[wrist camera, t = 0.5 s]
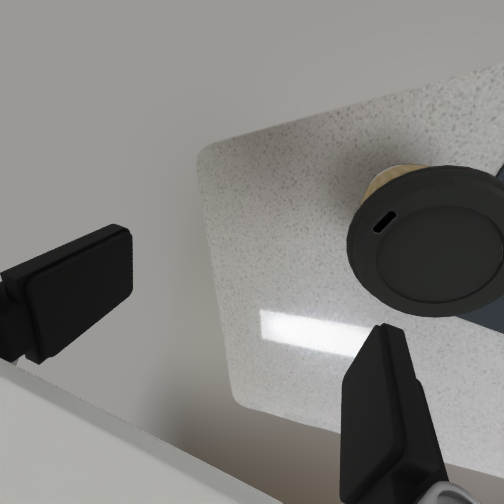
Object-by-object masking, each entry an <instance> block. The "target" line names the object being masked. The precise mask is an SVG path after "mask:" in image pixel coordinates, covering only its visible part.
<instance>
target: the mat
mask: <svg viewBox="0 0 504 504" xmlns="http://www.w3.org/2000/svg"><path fill="white" fill-rule="evenodd" d="M496 178H498V179H500V180H502V181H503V182H504V166H503V167H502V169H501V170H500V171H499V173H498V174H497V176H496ZM456 316H457V317H459V318H462V319H465V320H468V321H470V322H473V323H476V324H479V325H481V326H484V327H487V328H489V329H492V330H495V331H498V332H500V333H503V334H504V295H502V296H501V297H500V298H498V299H497V300H496V301H494V302H492V303H490V304H488V305H486V306H484V307H482V308H480V309H477V310H474V311H471V312H469V313H466V314H461V315H456Z"/></svg>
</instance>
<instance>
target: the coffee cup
mask: <svg viewBox="0 0 504 504" xmlns="http://www.w3.org/2000/svg"><path fill="white" fill-rule="evenodd" d="M347 256H348V260H349V264H350V266H351V268H352V270H353V272H354V274H355V276H356V278H357V279H358V280H359V282H360V283H361V284H362V286H363V287H364V288H365V289H366V290H368V291H369V292H370V293H371V294H372V295H373V296H375V297H376V298H378V299H379V300H380V301H381V302H383V303H384V304H386V305H388V306H389V307H391V308H393V309H396V310H398V311H401V312H403V313H406V314H411V315H415V316H421V317H434V318H435V317H450V316H456V315H461V314H466V313H469V312H471V311H474V310H477V309H480V308H482V307H484V306H486V305H488V304H490V303H492V302H494V301H496V300H497V299H498V298H500V297H501V296H502V295H504V182H503V181H502V180H500V179H498V178H496V177H494V176H492V175H491V174H489V173H487V172H484V171H480V170H477V169H473V168H470V167H463V166H451V165H445V166H433V167H432V166H425V165H415V164H408V165H395V166H392V167H389V168H387V169H385V170H383V171H381V172H380V173H379V174H377V175H376V176H375V177H374V178H373V180H372V181H371V183H370V184H369V187H368V188H367V190H366V192H365V194H364V197H363V199H362V202H361V205H360V208H359V209H358V210H357V212H356V213H355V215H354V217H353V219H352V222H351V224H350V226H349V230H348V235H347Z"/></svg>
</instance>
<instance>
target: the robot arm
mask: <svg viewBox="0 0 504 504" xmlns="http://www.w3.org/2000/svg"><path fill="white" fill-rule="evenodd" d="M132 246H133V242H132V235H131V234H130V231H129V230H128V229H127V228H125V227H122V226H119V225H116V224H110V225H108V226H106V227H103V228H101V229H99V230H96V231H94V232H92V233H90V234H87V235H85V236H83V237H81V238H78V239H76V240H74V241H72V242H69V243H67V244H65V245H62V246H60V247H58V248H55V249H54V250H51V251H49V252H46V253H44V254H42V255H39V256H37V257H35V258H33V259H30V260H28V261H26V262H24V263H21V264H19V265H17V266H14V267H12V268H10V269H7V270H5V271H3V272H1V273H0V275H1V278H2V282H0V504H283V503H281V502H280V501H278V500H276V499H274V498H272V497H270V496H268V495H266V494H265V493H263V492H261V491H259V490H257V489H255V488H253V487H251V486H249V485H248V484H246V483H243V482H242V481H240V480H238V479H236V478H234V477H232V476H230V475H228V474H226V473H224V472H222V471H220V470H218V469H217V468H215V467H213V466H211V465H209V464H207V463H205V462H203V461H201V460H199V459H197V458H195V457H194V456H192V455H190V454H188V453H186V452H184V451H182V450H180V449H178V448H176V447H174V446H172V445H170V444H168V443H166V442H164V441H163V440H161V439H159V438H157V437H155V436H153V435H151V434H149V433H147V432H145V431H143V430H141V429H139V428H137V427H135V426H133V425H131V424H129V423H127V422H126V421H124V420H122V419H120V418H118V417H116V416H114V415H112V414H110V413H108V412H106V411H104V410H102V409H100V408H98V407H96V406H94V405H92V404H90V403H88V402H86V401H84V400H82V399H81V398H79V397H76V396H75V395H73V394H71V393H69V392H67V391H65V390H63V389H61V388H59V387H57V386H55V385H53V384H51V383H49V382H47V381H45V380H43V379H41V378H39V377H37V376H35V375H33V374H31V373H29V372H27V371H25V370H23V369H21V368H19V367H17V366H16V364H17V361H18V358H19V357H21V356H22V355H24V354H25V357H26V358H27V359H28V360H31V361H33V362H34V363H37V364H38V365H39V364H41V363H42V362H43V361H45V360H46V359H47V358H48V357H53V356H55V355H56V354H58V353H59V352H60V351H61V350H63V349H64V348H65V347H67V346H68V345H69V344H70V343H71V342H73V341H74V340H75V339H76V338H78V337H79V336H80V335H81V334H83V333H84V332H85V331H86V330H87V329H89V328H90V327H91V326H93V325H94V324H95V323H96V322H98V321H99V320H100V319H101V318H103V317H104V316H105V315H106V314H108V313H109V312H110V311H111V310H113V308H115V307H116V306H118V305H119V304H120V303H121V302H122V301H124V300H125V299H126V298H128V297H129V296H130V294H131V292H132V290H133V253H132V252H133V248H132ZM340 450H341V451H340V500H341V502H343V503H345V504H481V503H480V502H479V501H478V500H477V499H476V498H474V496H473V495H471V494H470V493H469V492H468V491H466V490H465V489H463V488H462V487H460V486H458V485H456V484H453V483H451V482H449V479H448V476H447V472H446V469H445V465H444V461H443V458H442V454H441V451H440V447H439V444H438V440H437V437H436V433H435V429H434V426H433V422H432V419H431V415H430V412H429V408H428V404H427V401H426V397H425V394H424V390H423V387H422V385H421V382H420V381H419V380H417V379H416V376H415V372H414V368H413V364H412V360H411V357H410V353H409V349H408V345H407V342H406V338H405V334H404V331H403V330H402V329H400V328H397V327H394V326H391V325H389V324H386V323H383V324H382V325H381V326H379V325H375V326H374V328H373V329H372V331H371V332H370V334H369V336H368V337H367V339H366V341H365V342H364V344H363V346H362V347H361V349H360V351H359V352H358V354H357V356H356V357H355V359H354V361H353V362H352V364H351V366H350V367H349V369H348V371H347V372H346V374H345V376H344V378H343V382H342V402H341V449H340Z"/></svg>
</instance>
